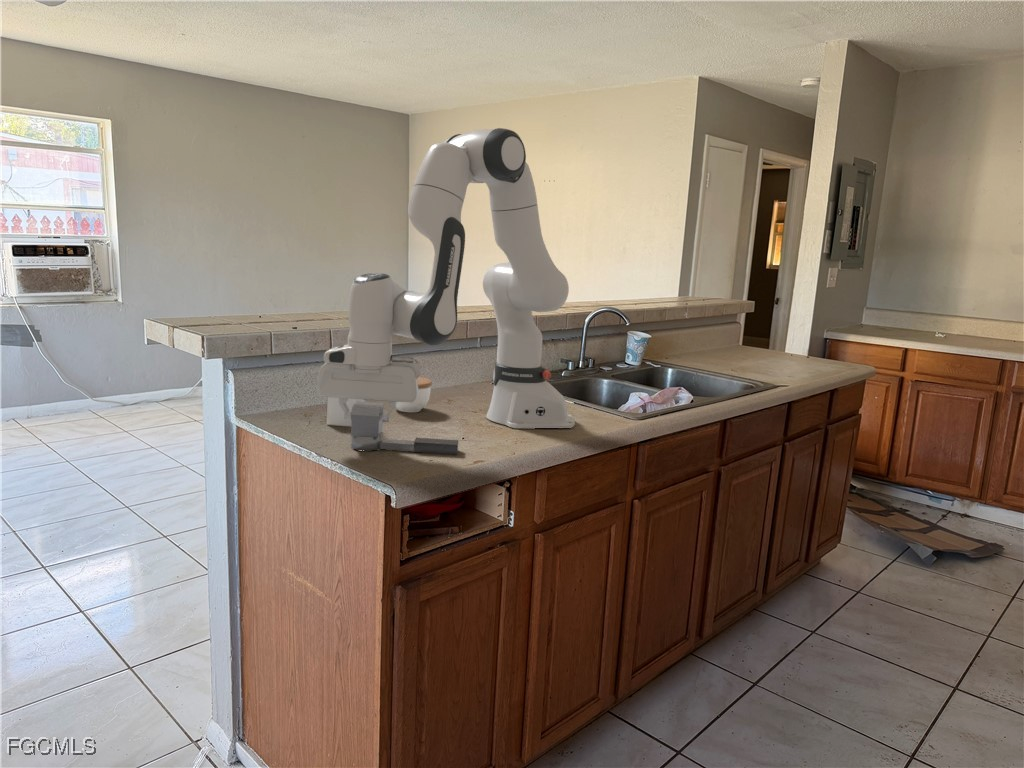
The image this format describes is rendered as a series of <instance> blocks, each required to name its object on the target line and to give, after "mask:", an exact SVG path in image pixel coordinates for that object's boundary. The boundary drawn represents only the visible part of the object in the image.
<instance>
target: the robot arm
mask: <svg viewBox="0 0 1024 768" xmlns="http://www.w3.org/2000/svg"><path fill="white" fill-rule="evenodd" d="M526 159H527V154H526V147H525V145H524V142H523V140H522V139H521V136H520V135H519V134H518V133H517V132H515V131H514V130H511V129H509V128H501V127H498V128H493V129H489V128H488V129H487V128H485V129H476V130H474V131H473V130H472V131H469V132H465V133H462V134H461V133H458V134H454V135H452V136H450V137H449V138H447V139H446V140H444V141H443V142H441V141H440V142H437V143H435V144H432V145H431V147H429V149H428V150H427V152H426V153H425V155H424V157H423V159H422V162H421V164H420V166H419V169H418V171H417V174H416V176H415V179H414V183H413V186H412V189H411V192H410V196H409V200H408V206H407V214H408V217H409V220H410V222H411V224H412V226H413V227H414V229H415V230H417V231H418V233H420V234H421V235H423V236H424V237H425V238H427V239H428V240H429V241H430V242H431V244H432V245H433V250H434V257H433V262H432V263H433V264H432V270H431V275H430V281H429V288H428V289H427V290H426V292H425V293H423V292H417V291H414V290H408V289H407V288H405V287H403V286H401V285H400V284H397V283H396V282H395V281H394V280H393V279H392V278H391V276H390V275H389V274H387V273H381V272H379V273H378V272H375V273H364V274H361V275H358V276H356V277H355V278H354V279H353V281H352V284H351V286H350V291H349V297H348V311H347V318H348V322H349V332H348V335H347V343H346V344H343V345H339V346H334V347H331V348H330V349H327V350H326V351H325V352H324V354H323V361H324V364H323V365H321V367H320V368H319V372H318V376H317V377H318V378H317V387H316V390H317V391H316V392H317V394H318V395H319V397H322V398H327V397H330V398H339V404H340V406H341V408H342V409H343V411H344V419H346V420H352V410H349V408H348V406H347V404H346V402H347V401H348V399H361V400H365V401H376V402H377V401H379V402H388V407H390V408H389V409H388V411H383V419H382V421H383V422H384V423H390V422H391V417H392V413H393V411H394V409H396V405H397V402H409V403H413V402H414V401H415V400H416V399H417V397H418V381H417V378H418V377H421V376H420V375H421V363H420V362H419V361H418V360H417V359H415V358H414V357H412V356H407V357H405V356H399V355H392V353H393V350H392V349H393V335H397V336H401V337H403V338H408V339H412V340H416V341H418V342H421V343H424V344H426V345H430V346H438V345H441V344H443V343H445V342H446V341H447V340H448V339H450V337H451V336H452V335H453V333H454V331H456V327H457V323H458V297H459V296H458V295H459V287H460V282H461V276H462V269H463V262H464V255H465V246H466V245H465V244H466V231H465V227H464V225H463V223H462V210H463V205H464V202H465V198H466V194H467V188H468V186H469V184H485V185H486V186H487V188H488V192H489V194H488V196H489V205H490V211H491V218H492V227H493V234H494V240H495V243H496V245H497V246H498V248H499V249H500V250H501V251H503V253H504V254H505V255H506V257H507V261H508V262H503V263H498V264H493V265H492V266H490V267H489V268H488V269H487V270H486V272H485V274H484V276H483V280H482V288H483V292H484V294H485V296H486V298H488V300H489V302H490V303H491V306H492V310H493V313H494V316H495V320H496V326H497V347H496V349H497V350H496V351H497V352H496V354H497V355H496V362H495V363H494V368H493V374H492V376H493V378H492V382H493V383H492V384H493V390H492V391H493V392H492V396H491V400H490V405H489V407H488V410H487V414H486V416H485V417H486V418H487V420H489V421H491V422H494V423H497V424H501V425H505V426H508V427H509V428H513V429H535V428H571V427H573V426H574V425H575V426H576V420H575V417H574V416H573V415H571V414H569V413H568V408H567V407H568V406H567V401H566V400H565V397H564V395H563V394H562V393H560V392H559V391H558V389H556V388H555V387H554V386H553V384H550V382H548V380H550V378H551V377H552V373H551V371H549V370H548V369H547V368H546V367H544V366H543V365H541V363H542V350H543V349H542V348H543V340H544V339H543V334H542V331H541V330H540V329H539V328H538V326H537V325H536V323H535V320H534V316H533V312H536V313H546V312H554V311H557V310H559V309H561V308H562V307H563V306H564V304H565V303H566V301H567V300H568V296H569V291H570V290H569V287H570V285H569V282H568V280H567V277H566V275H565V274H564V273H563V272H561V270H559V268H558V267H557V266H556V264H555V263H554V261H553V260H552V257H551V256H550V254H549V251H548V250H547V249H548V248H547V246H546V244H545V241H544V238H543V234H542V229H541V227H542V226H541V223H540V215H539V207H538V198H537V192H536V186H535V182H534V179H533V175H532V172H531V169H530V166H529V164H528V163H527V162H526V161H527V160H526ZM575 426H574V427H575ZM574 427H573V428H574ZM571 429H572V428H571Z"/></svg>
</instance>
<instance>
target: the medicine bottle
mask: <svg viewBox="0 0 1024 768" xmlns="http://www.w3.org/2000/svg"><path fill="white" fill-rule="evenodd" d="M357 401H362V402H366V400H361V399H348V401H347V402H346V404H347V406H348V408H349V410H352V407H353V406H354V404H355V403H356V402H357ZM325 422H326V423H325V424H326V425H327V426H336V427H347V428H348V427H349V428H351V423H352V420H346V419H344V411H343V409H342V408H341V406H340V404H339V398H330V397H326V421H325Z"/></svg>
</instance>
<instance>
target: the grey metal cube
mask: <svg viewBox="0 0 1024 768" xmlns="http://www.w3.org/2000/svg"><path fill="white" fill-rule="evenodd" d="M383 413H384V402H377V401H376V402H375V401H373V402H372V401H365V402H362V401H357V402H356V403H355V404H354V406H353V407H352V423H351V427H350V429H351V430H350V432H351V433H350V437H351V436H359V437H375V438H378V437H379V436H380V434H381V432H382V433H383V427H384V426H383V421H382V419H383Z"/></svg>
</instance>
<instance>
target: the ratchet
mask: <svg viewBox="0 0 1024 768" xmlns="http://www.w3.org/2000/svg"><path fill="white" fill-rule="evenodd" d="M383 435H384V434H383V431H382V432H381V434H380V436H379V437H378V438H375V437H359V436H351V435H350V448H351V449H352V448H353V449H356V450H362V451H363V450H364V451H372V450H377V451H379V450H378V449H386V450H385V451H392V450H398V451H397V452H408V451H414V452H413V453H415V452H422V453H421V454H431V453H432V454H433V453H434V454H433V455H435V454H436V455H447V454H455V455H454V456H458V454H459V453H458V452H459V439H443V438H427V437H415V438H414V440H408V439H407V440H405V439H391V438H383ZM353 449H352V450H353ZM356 450H355V451H356ZM399 450H400V451H399ZM362 451H361V452H362ZM372 452H373V451H372ZM432 454H431V455H432Z"/></svg>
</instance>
